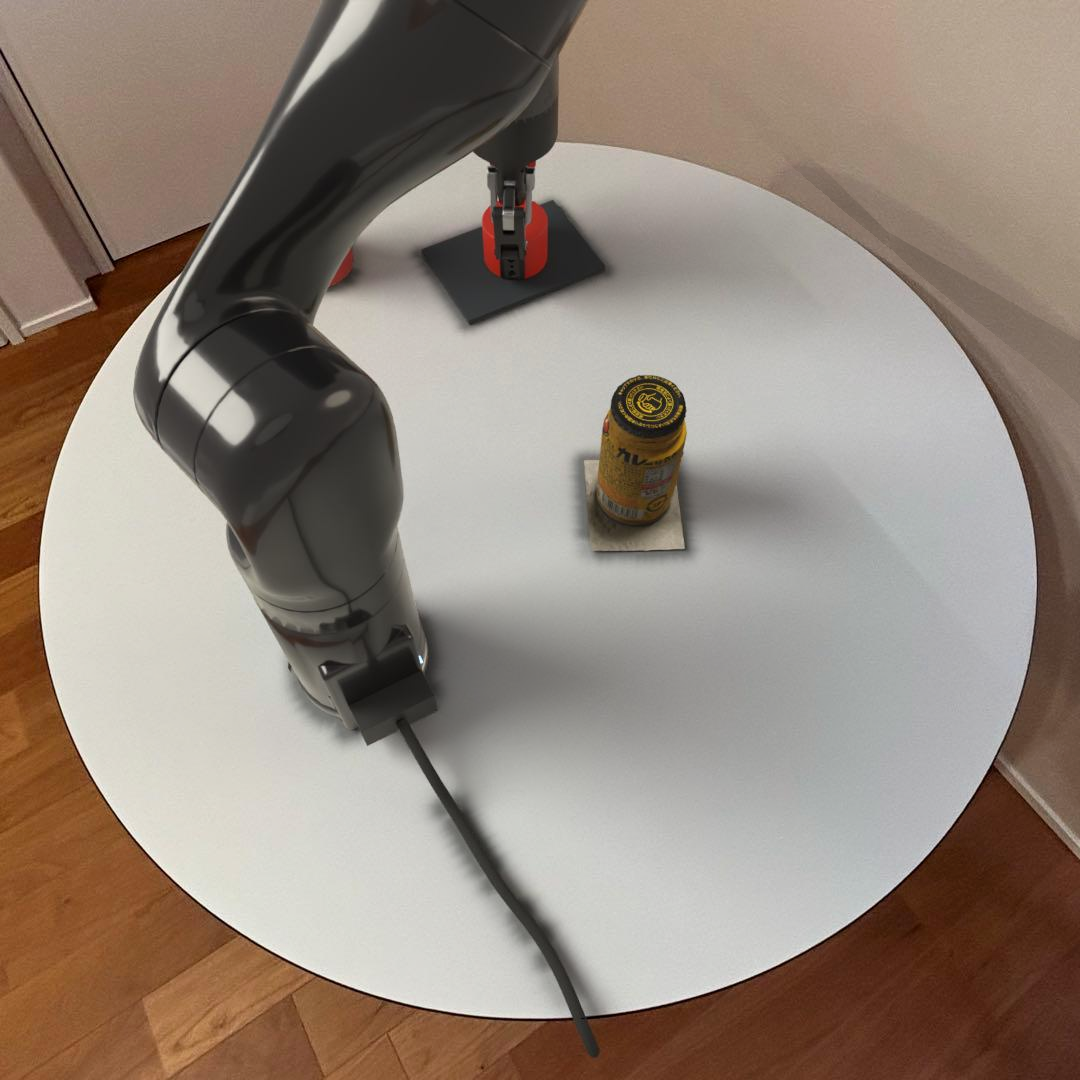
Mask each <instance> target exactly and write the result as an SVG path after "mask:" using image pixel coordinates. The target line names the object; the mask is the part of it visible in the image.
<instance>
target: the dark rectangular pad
mask: <svg viewBox="0 0 1080 1080" xmlns="http://www.w3.org/2000/svg"><path fill="white" fill-rule="evenodd" d="M539 205H540V206H541V207H542V208H543V209H544V211H545V212H546V215H547V218H548V236H547V261H546V264H545V266H544V267H543V269H542V270H541V271H540V272H538V273H537V274H535V275H534V276H532V277H529V278H526V279H522V280H505V279H502V278H501V277H499V276H497V275H495V274H494V273H493V272H491V271H490V270H489V268H488V267H487V265H486V263H485V260H484V246H483V230H482V226H480V227H476V228H474V229H472V230H469V231H466V232H463V233H461V234H458V235H455V236H453V237H450V238H446V239H445V240H442V241H440V242H436V243H435V244H432V245H429V246H425V247H424V248H421V251H420V252H421V255H422V257H423V258H424V260H425V261H426V263H427V264H428V265H429V267H430V268H431V270H432V272H433V273H434V274H435V276H436V277H437V279H438V281H439V282H440V284H441V285H442V287H443V288H444V289H445V291H446V293H447V294H448V295H449V297H450V298H451V300H452V302H453V304H455V306H456V307H457V309H458V310H459V312H460V314H461V315H462V316H463V318H464V319H465V321H466V322H467V324H468V325H469V326H471V325H473V324H475V323H478V322H481V321H483V320H486V319H488V318H492V317H493V316H495V315H497V314H501V313H504V312H506V311H508V310H510V309H513V308H516V307H518V306H521V305H523V304H526V303H528V302H530V301H532V300H536V299H538V298H540V297H543V296H545V295H548V294H551V293H553V292H556V291H558V290H561V289H563V288H565V287H568V286H571V285H573V284H576V283H578V282H580V281H584V280H585V279H588V278H590V277H593V276H595V275H598V274H600V273H603V272H606V264H605V263H604V262H603V261H602V259H601V258H600V257H599V256H598V254H597V253H596V252H595V251H594V249H593V248H592V247H591V246H590V245H589V243H588V242H587V240H585V238H584V237H583V236H582V234H581V233H580V232H579V231H578V229H577V228H576V227H575V226H574V224H573V223H572V221H570V219H569V218H568V216H567V215H566V214H565V213H564V212H563V210H562V209H561V208H560V207H559V206H558V204H557V203H556V202H555V201H554V199H552V200H551V199H550V200H549V201H546V202H544V203H541V204H539Z"/></svg>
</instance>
